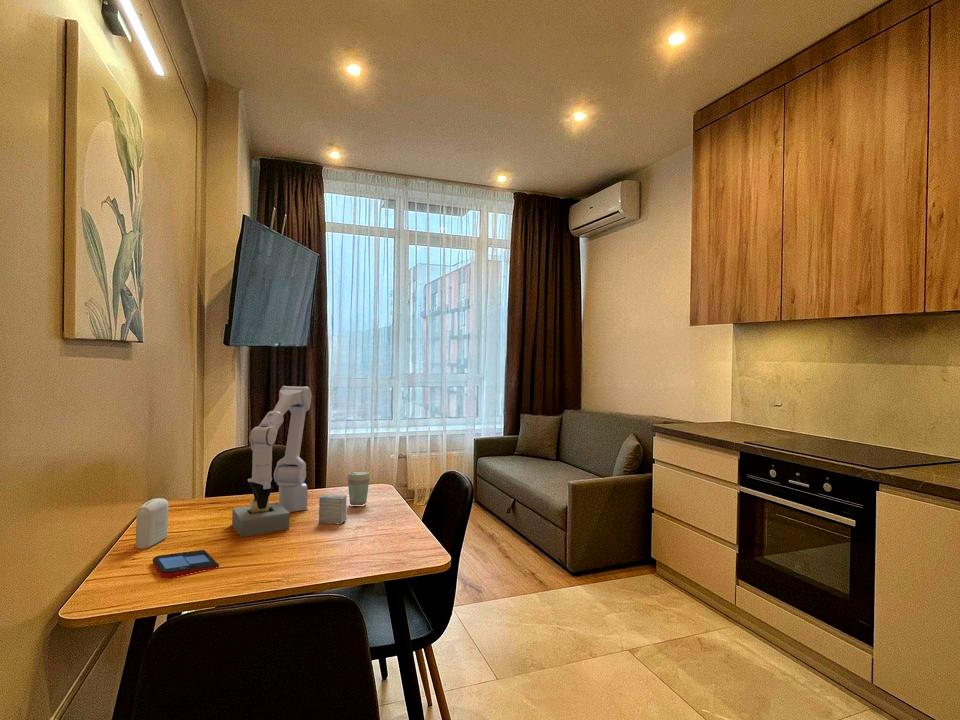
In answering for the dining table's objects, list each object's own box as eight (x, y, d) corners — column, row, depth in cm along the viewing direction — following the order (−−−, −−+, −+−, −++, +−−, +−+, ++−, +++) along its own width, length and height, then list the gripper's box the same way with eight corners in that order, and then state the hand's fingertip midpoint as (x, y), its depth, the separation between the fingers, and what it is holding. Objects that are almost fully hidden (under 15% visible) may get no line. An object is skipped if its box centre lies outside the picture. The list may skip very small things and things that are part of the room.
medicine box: (346, 520, 170) (347, 495, 170) (341, 525, 166) (342, 498, 166) (323, 519, 171) (324, 493, 171) (318, 523, 166) (319, 497, 166)
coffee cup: (347, 502, 193) (348, 470, 193) (370, 501, 194) (371, 470, 194) (344, 508, 184) (345, 475, 185) (368, 508, 185) (369, 475, 185)
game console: (219, 569, 129) (220, 561, 129) (161, 583, 121) (161, 573, 121) (205, 553, 140) (205, 545, 140) (150, 564, 131) (151, 555, 131)
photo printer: (155, 536, 150) (156, 495, 151) (169, 537, 151) (171, 495, 151) (132, 549, 140) (134, 504, 140) (148, 549, 140) (149, 504, 140)
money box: (277, 517, 171) (277, 502, 171) (289, 529, 160) (289, 512, 160) (232, 524, 163) (232, 508, 163) (240, 537, 152) (241, 519, 152)
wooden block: (266, 513, 164) (266, 497, 164) (268, 515, 162) (269, 499, 162) (249, 515, 161) (250, 499, 161) (251, 517, 159) (252, 501, 159)
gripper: (243, 461, 165) (242, 503, 165) (253, 469, 154) (252, 514, 153) (266, 459, 169) (265, 500, 169) (278, 467, 158) (276, 511, 158)
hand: (260, 507), depth 162 cm, fingers closed on wooden block, 3 cm apart
